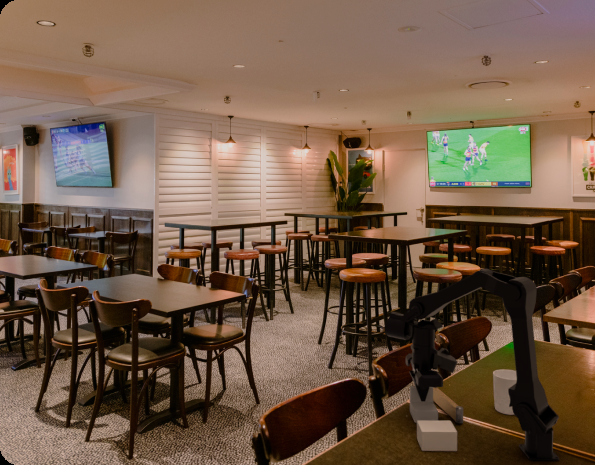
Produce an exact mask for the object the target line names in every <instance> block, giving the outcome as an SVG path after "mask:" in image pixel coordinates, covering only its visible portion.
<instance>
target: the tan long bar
mask: <svg viewBox="0 0 595 465" xmlns="http://www.w3.org/2000/svg"><path fill="white" fill-rule="evenodd" d="M433 403H434V404H435V403H436V405H437V406H439V408H440V409H442V411H444V412H445V413H446V414H447V415H448V416H449V417H450V418H451V419H452V420H453V421H455V423H457V424H463V423H464V407H463V406H459V405H458V404H457V403H456V402H455V401H454V400H452V399H451V398H450V397H449V396H448V395H446V394H445V393H444V392H443V391H442V390H441V389H439V387H433Z"/></svg>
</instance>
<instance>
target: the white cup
mask: <svg viewBox="0 0 595 465" xmlns="http://www.w3.org/2000/svg"><path fill="white" fill-rule="evenodd" d="M492 377H493V378H492V380H493V381H492V382H493V399H494V408H495V411H497V412H498V413H501V414H504V415H510V416H512V415H514V413H513V410H512V407H509V404H510V397H509V393H508V389H509V388H510V387H512V386H513V385H514V384H516V381H517V376H516V370H513V369H503V368H502V369H496V370H493V371H492ZM514 416H515V415H514Z"/></svg>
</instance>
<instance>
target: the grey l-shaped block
mask: <svg viewBox="0 0 595 465" xmlns="http://www.w3.org/2000/svg"><path fill="white" fill-rule="evenodd" d="M409 413H410V415H411V417H412V419H413V422H414V423H416V424H417V420H424V421H439V410H438V409H437V406H436V405H435V402H434V401H433V387H429V391H428V394H427V397H426V401H421V400H420V397H419V395H418V392H417V389H416V387H415V385H409Z"/></svg>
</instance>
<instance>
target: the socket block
mask: <svg viewBox="0 0 595 465" xmlns="http://www.w3.org/2000/svg"><path fill="white" fill-rule="evenodd" d="M416 440H417V441H418V444H419V447H420V449H421V451H422V452H425V451H426V452H427V451H428V452H430V451H431V452H457V451H458V430H457V429H456V427H455V426H454V424H453V422H452V421H451V420H438V421H424V420H417V423H416Z"/></svg>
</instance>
